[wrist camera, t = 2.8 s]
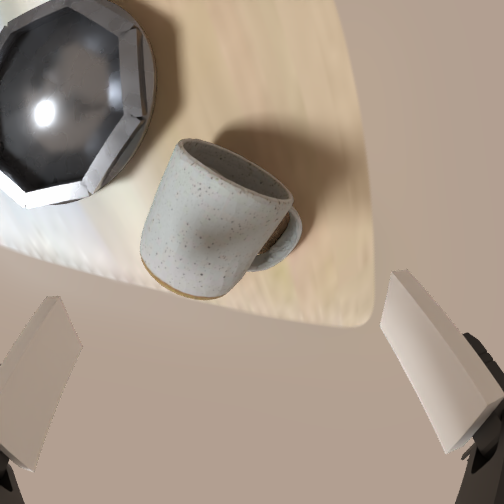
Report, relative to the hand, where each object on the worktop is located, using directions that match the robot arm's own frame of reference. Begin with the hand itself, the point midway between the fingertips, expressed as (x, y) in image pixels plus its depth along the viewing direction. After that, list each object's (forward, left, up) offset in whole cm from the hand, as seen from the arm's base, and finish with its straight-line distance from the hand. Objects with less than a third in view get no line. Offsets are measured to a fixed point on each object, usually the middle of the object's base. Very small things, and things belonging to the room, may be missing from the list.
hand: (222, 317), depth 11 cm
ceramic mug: (0, 0, -13) cm, 13 cm away
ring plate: (-12, +10, -13) cm, 20 cm away
